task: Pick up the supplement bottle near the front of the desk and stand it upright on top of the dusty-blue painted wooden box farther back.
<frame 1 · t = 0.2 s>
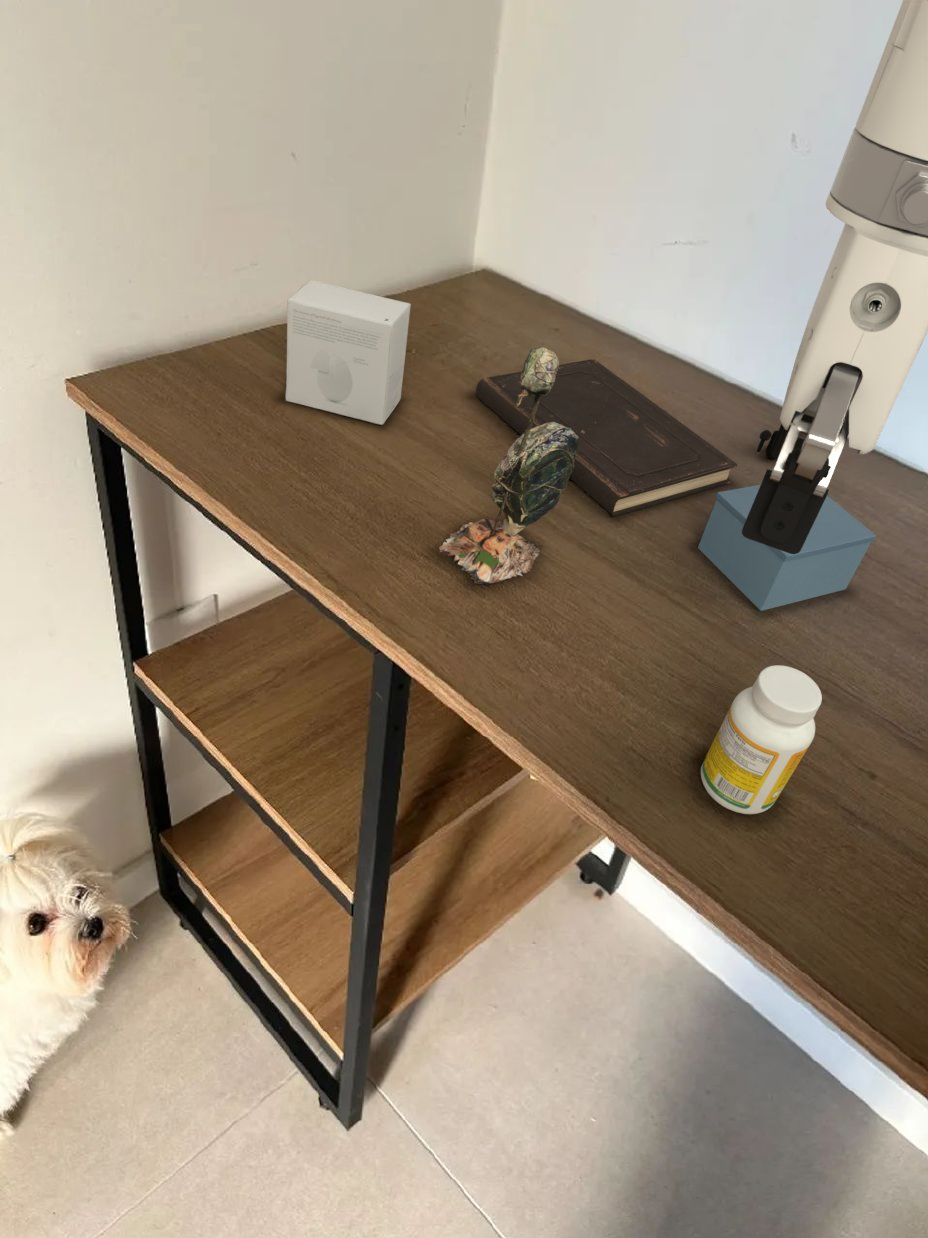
hand: (782, 500, 54), 20 cm above the table, tool pointing down, fingers open, 9 cm apart
supplement bottle: (736, 786, 64), on the table
blue box: (770, 568, 83), on the table
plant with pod: (499, 553, 80), on the table
hardcover book: (597, 441, 96), on the table
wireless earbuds: (778, 460, 99), on the table
cosmetics box: (343, 401, 95), on the table
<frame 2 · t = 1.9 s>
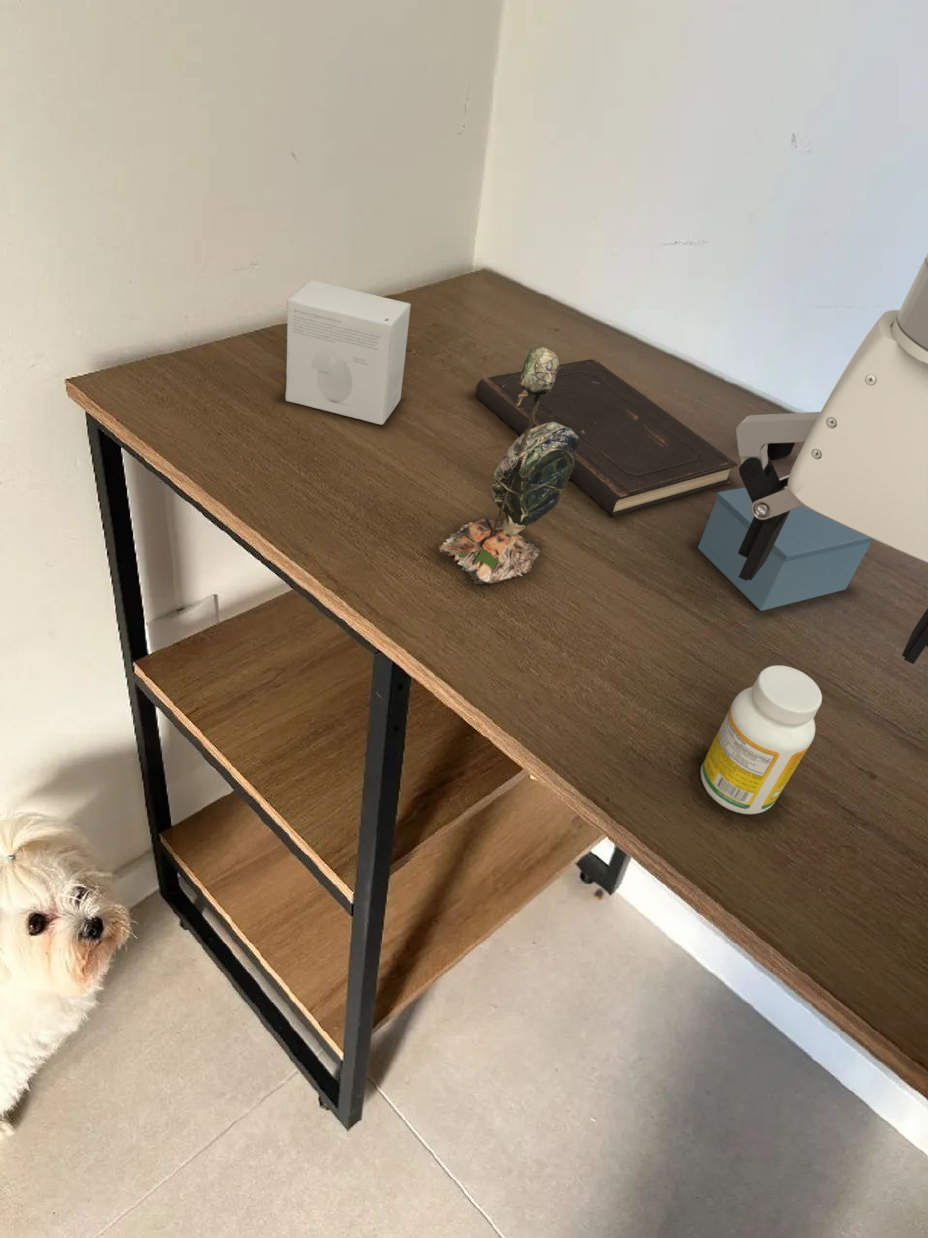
hand: (829, 607, 53), 16 cm above the table, tool pointing down, fingers open, 9 cm apart
nothing on the table moved.
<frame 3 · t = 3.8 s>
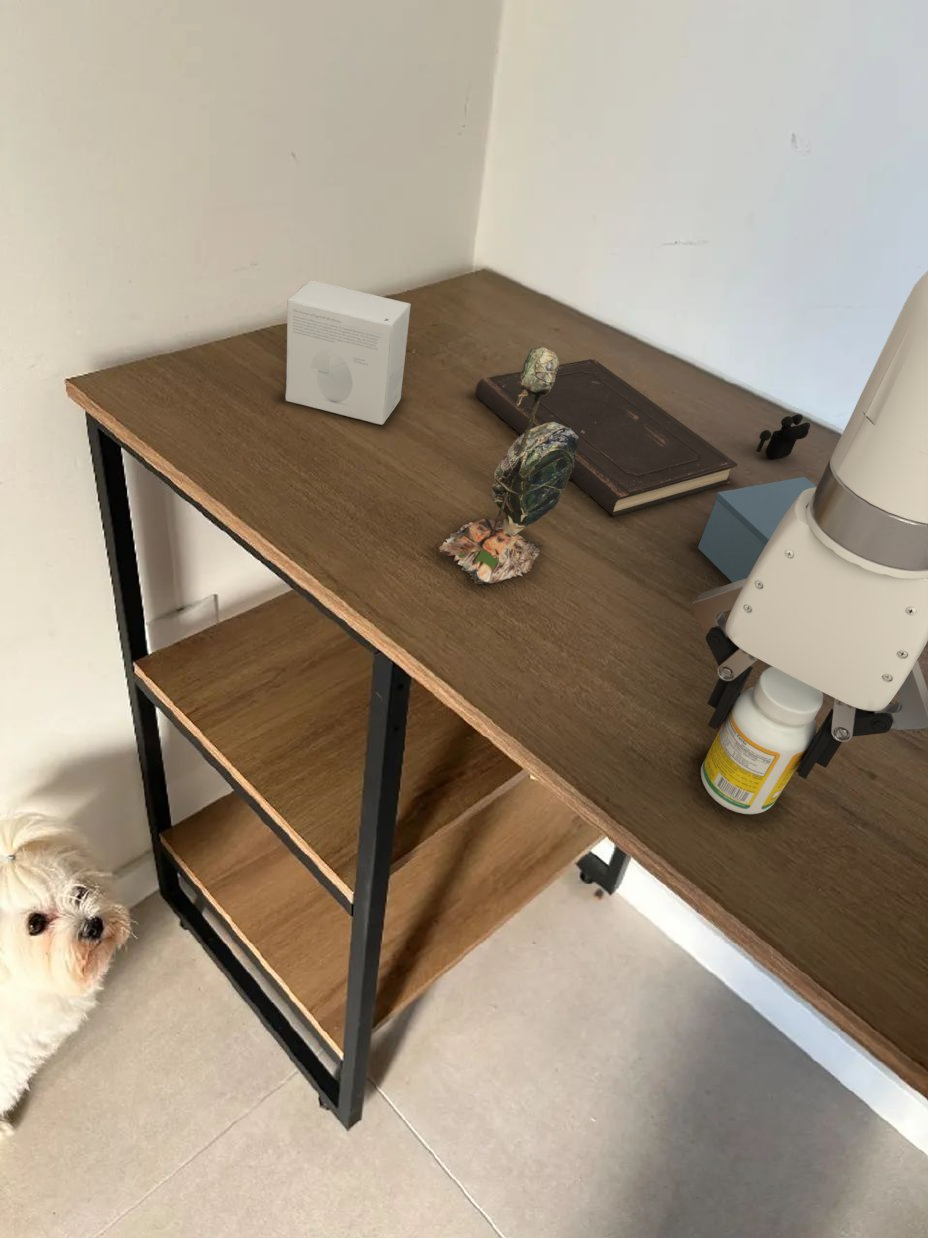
hand: (763, 737, 60), 5 cm above the table, tool pointing down, fingers closed on supplement bottle, 5 cm apart
supplement bottle: (736, 786, 64), on the table, touching gripper
everything else where it was.
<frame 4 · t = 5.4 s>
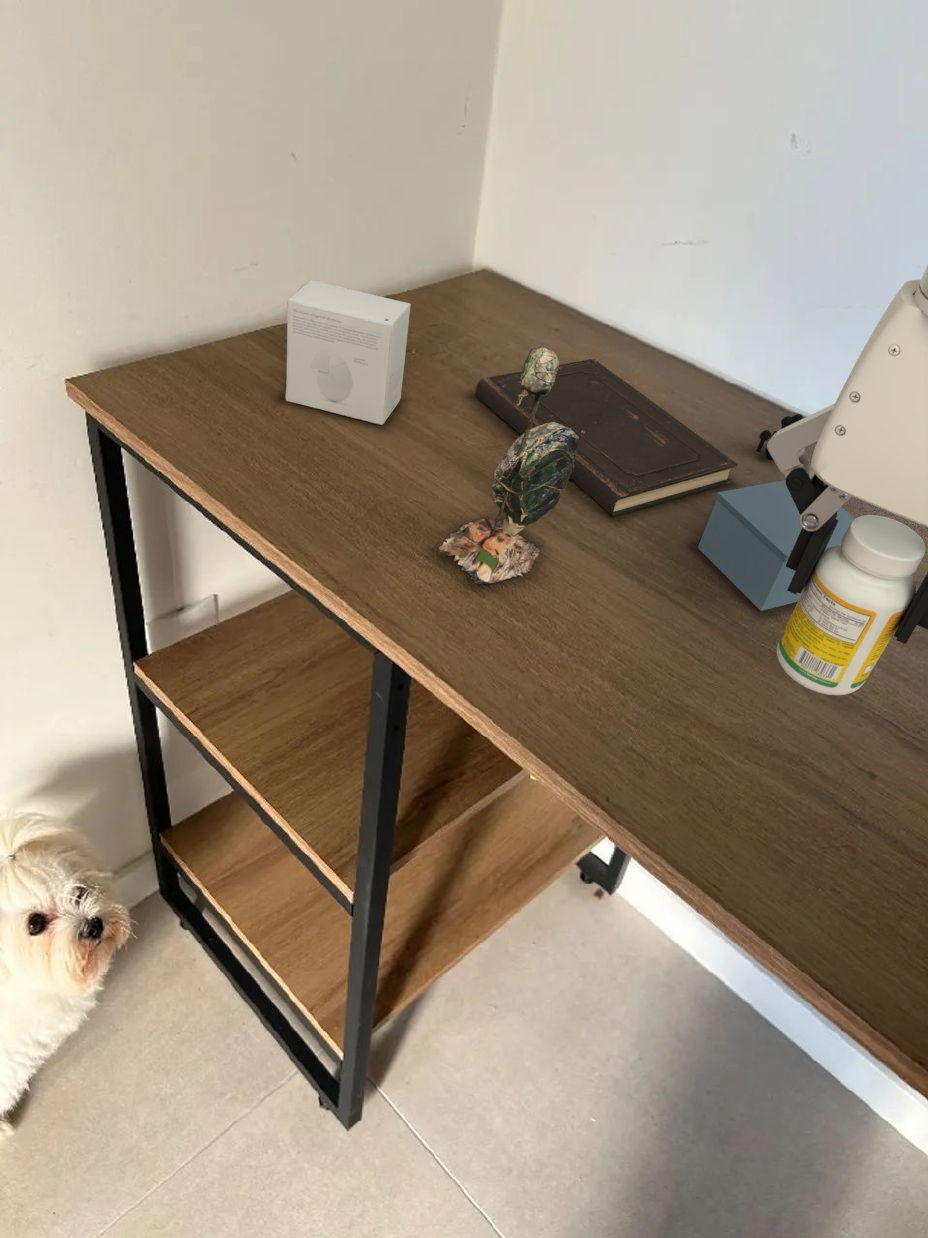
hand: (852, 602, 52), 17 cm above the table, tool pointing down, fingers closed on supplement bottle, 5 cm apart
supplement bottle: (818, 668, 55), point 12 cm above the table, touching gripper
everything else where it was.
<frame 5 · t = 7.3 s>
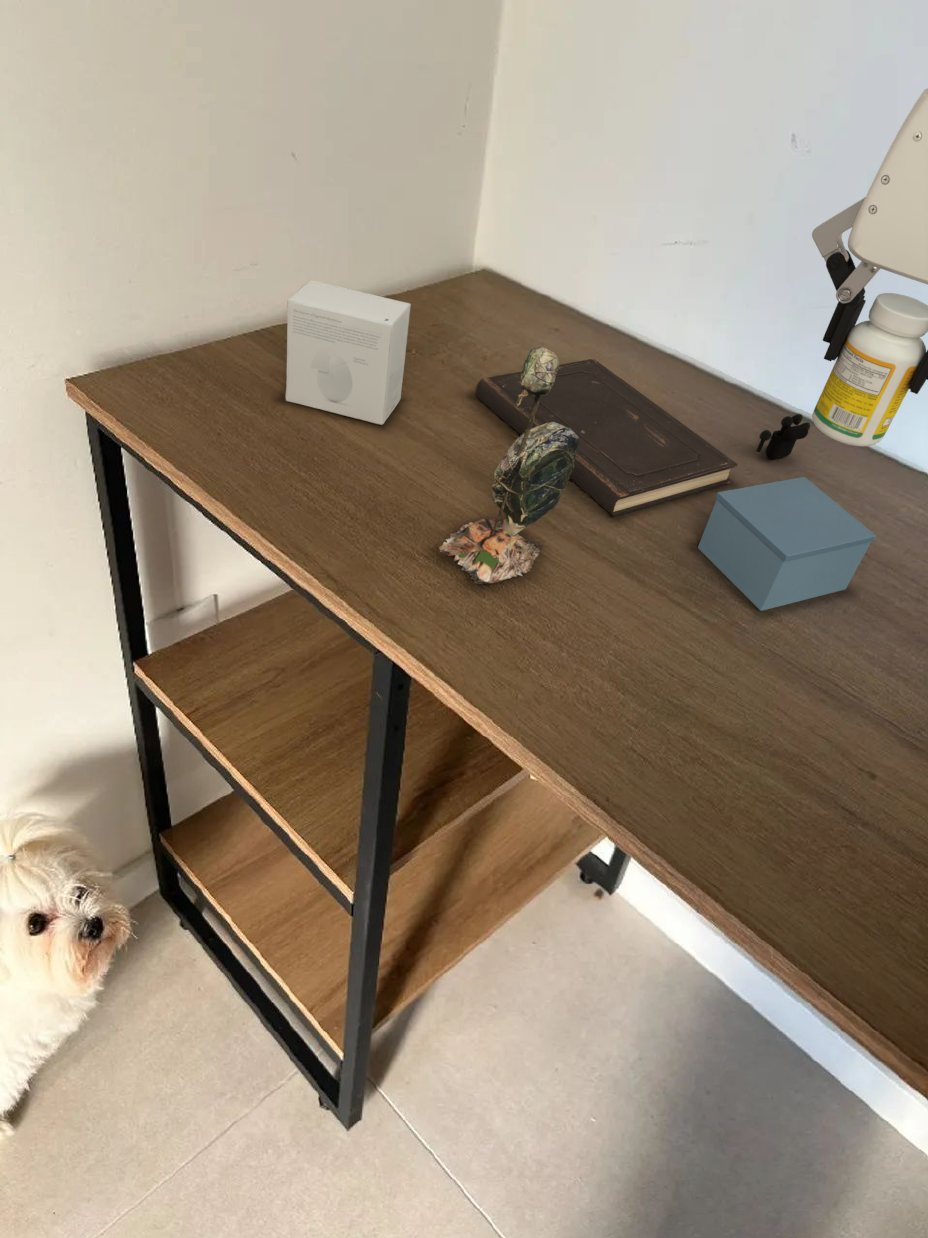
hand: (875, 367, 66), 22 cm above the table, tool pointing down, fingers closed on supplement bottle, 5 cm apart
supplement bottle: (844, 431, 69), point 16 cm above the table, touching gripper
everything else where it was.
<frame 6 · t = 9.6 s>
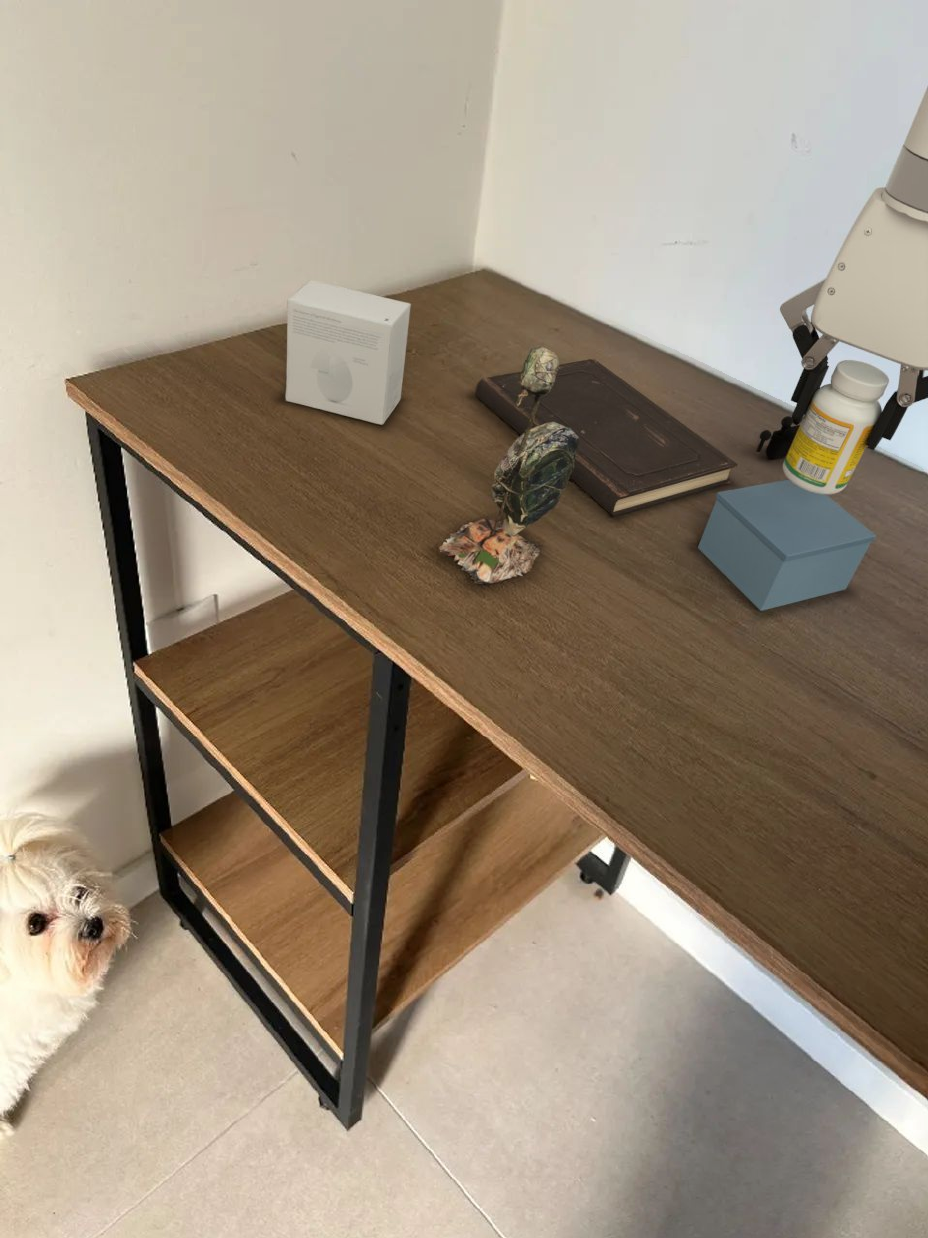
hand: (837, 425, 74), 15 cm above the table, tool pointing down, fingers closed on supplement bottle, 5 cm apart
supplement bottle: (812, 480, 77), point 9 cm above the table, touching gripper
everything else where it was.
when the fingers open (11 cm above the table, at t = 11.1 s): supplement bottle stays where it is, resting on blue box.
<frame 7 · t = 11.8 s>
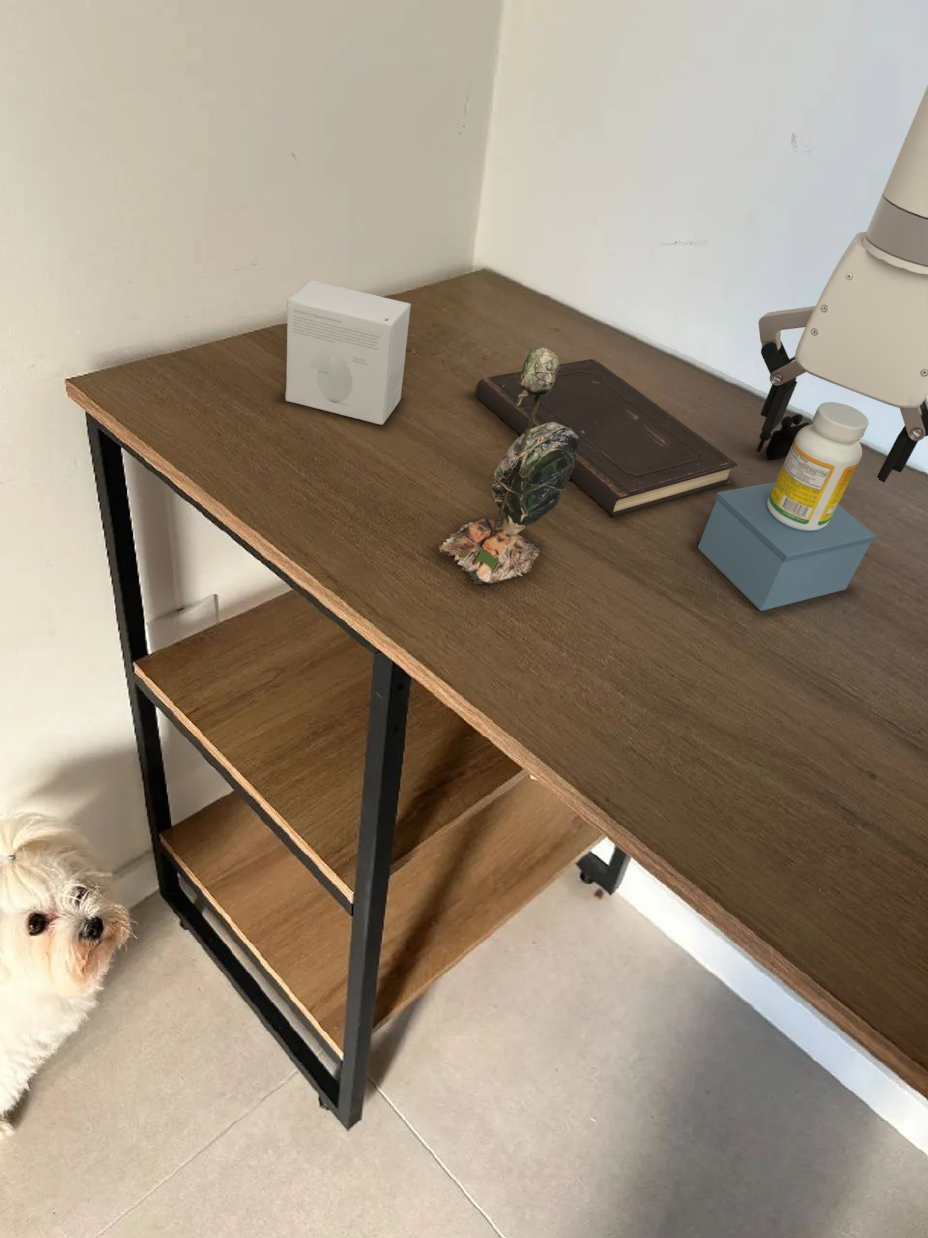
hand: (826, 450, 75), 12 cm above the table, tool pointing down, fingers open, 9 cm apart
supplement bottle: (796, 515, 79), point 6 cm above the table, touching blue box
everything else where it was.
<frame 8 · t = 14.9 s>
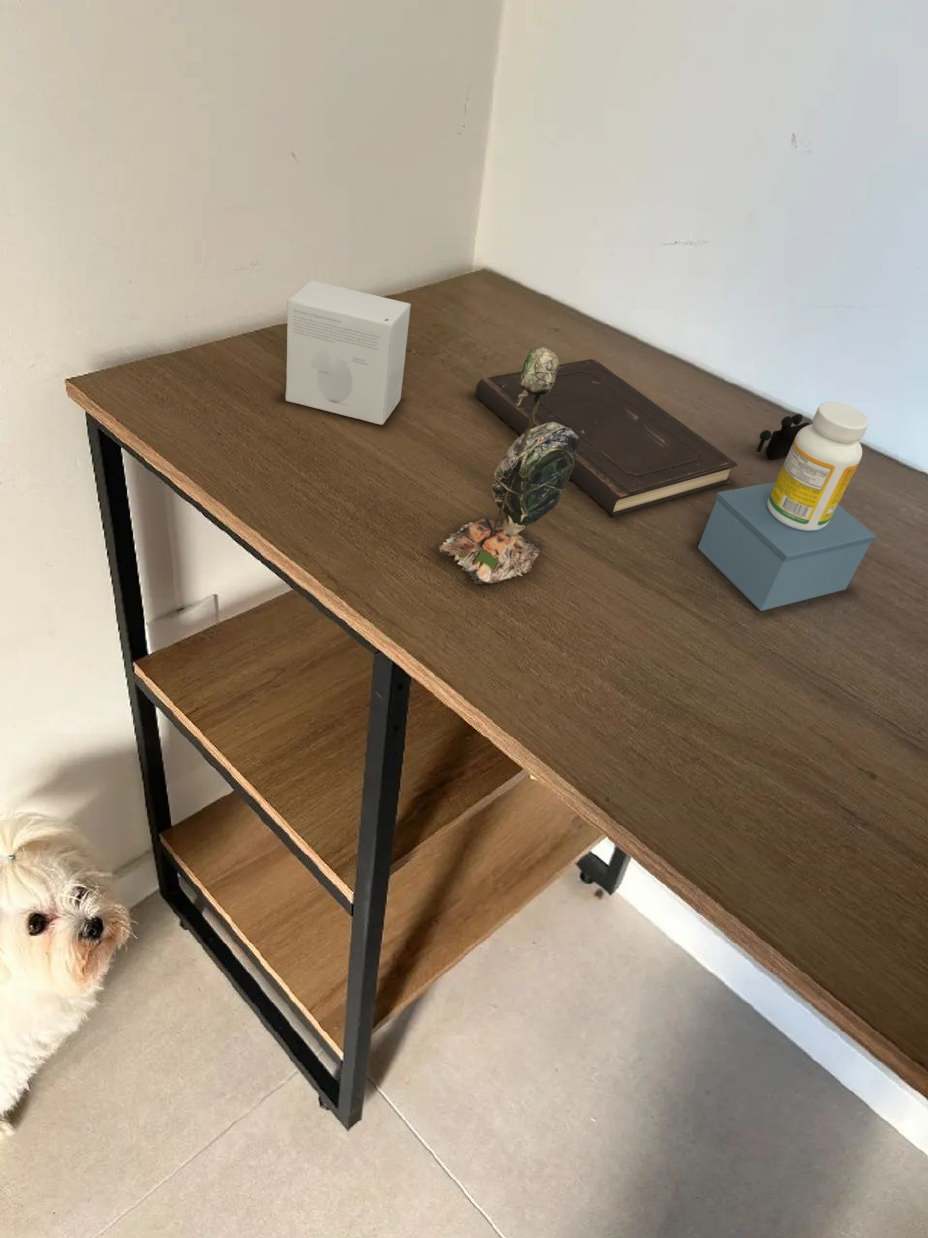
nothing on the table moved.
at the end: supplement bottle inside the target area on the blue box (0.1 cm from its centre), point 5.9 cm above the blue box's base; supplement bottle tilted 0°; the gripper is holding nothing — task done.
